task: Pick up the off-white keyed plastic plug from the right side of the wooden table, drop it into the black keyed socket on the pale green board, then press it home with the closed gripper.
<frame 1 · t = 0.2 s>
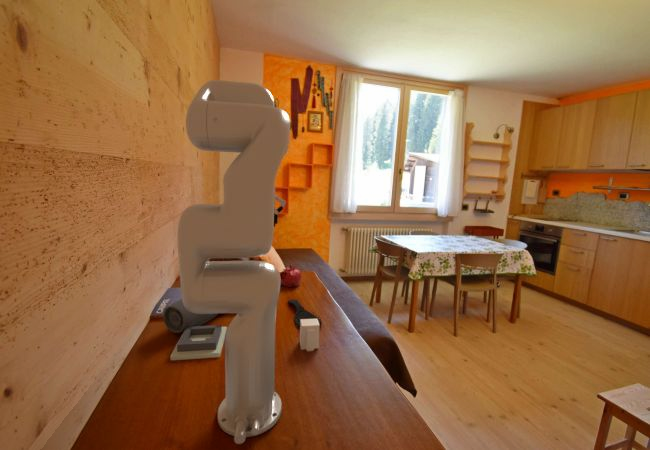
hand: (259, 225, 100), 31 cm above the table, tool pointing down, fingers open, 9 cm apart
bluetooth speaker: (205, 320, 98), on the table, touching socket board
pomegranate: (290, 284, 134), on the table
hairbrush: (301, 316, 105), on the table
socket board: (201, 343, 85), on the table
keyed plug: (309, 344, 86), on the table
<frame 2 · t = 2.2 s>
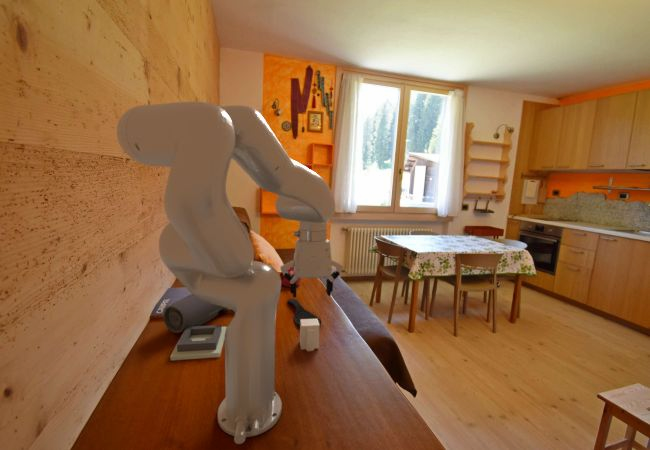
hand: (311, 294, 84), 15 cm above the table, tool pointing down, fingers open, 9 cm apart
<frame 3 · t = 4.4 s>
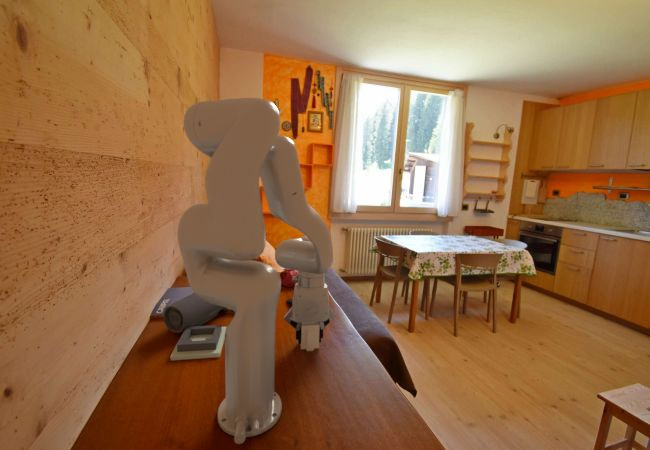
hand: (309, 340, 86), 1 cm above the table, tool pointing down, fingers closed on keyed plug, 4 cm apart
keyed plug: (309, 344, 86), on the table, touching gripper
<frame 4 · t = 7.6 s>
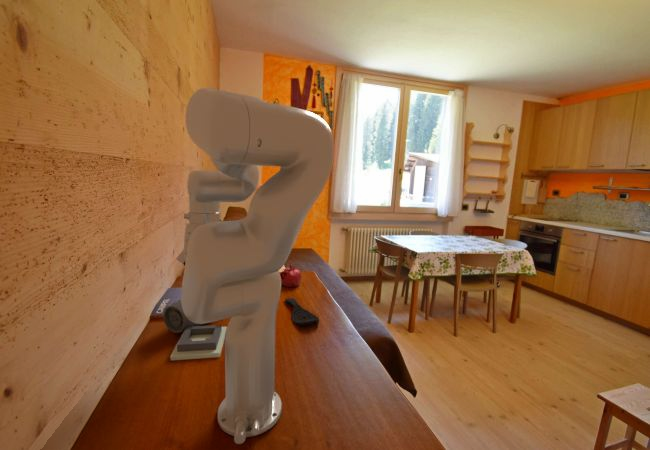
hand: (206, 283, 82), 18 cm above the table, tool pointing down, fingers closed on keyed plug, 4 cm apart
keyed plug: (207, 288, 83), point 16 cm above the table, touching gripper
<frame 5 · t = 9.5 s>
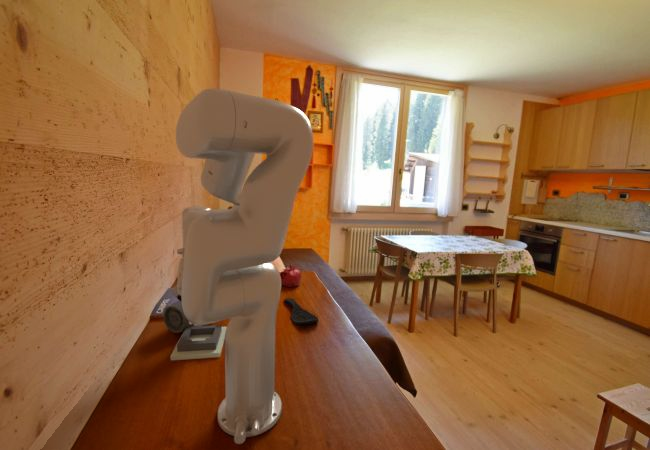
hand: (200, 315, 84), 8 cm above the table, tool pointing down, fingers closed on keyed plug, 4 cm apart
keyed plug: (200, 320, 84), point 7 cm above the table, touching gripper
when the fingers open (5 cm above the table, at t = 11.0 s): keyed plug drops 2 cm, resting on socket board.
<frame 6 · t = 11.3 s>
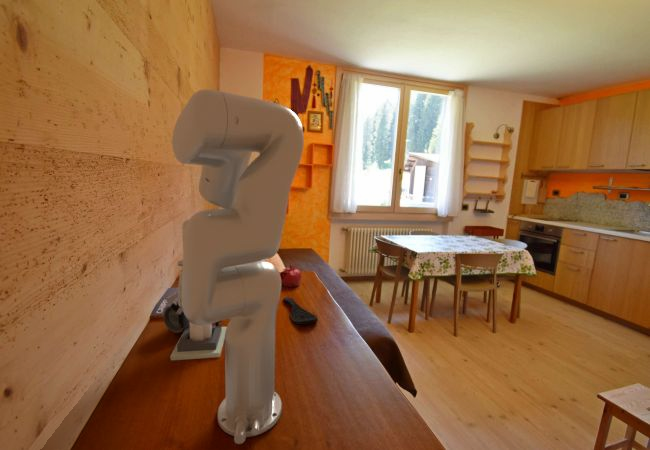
hand: (200, 324, 84), 6 cm above the table, tool pointing down, fingers open, 8 cm apart
keyed plug: (201, 339, 85), point 1 cm above the table, touching socket board
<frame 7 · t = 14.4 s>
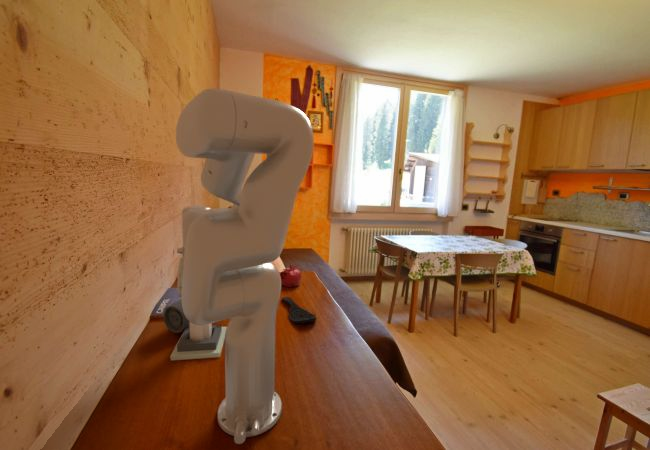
hand: (200, 316, 84), 8 cm above the table, tool pointing down, fingers closed
keyed plug: (201, 339, 85), point 1 cm above the table, touching gripper, socket board
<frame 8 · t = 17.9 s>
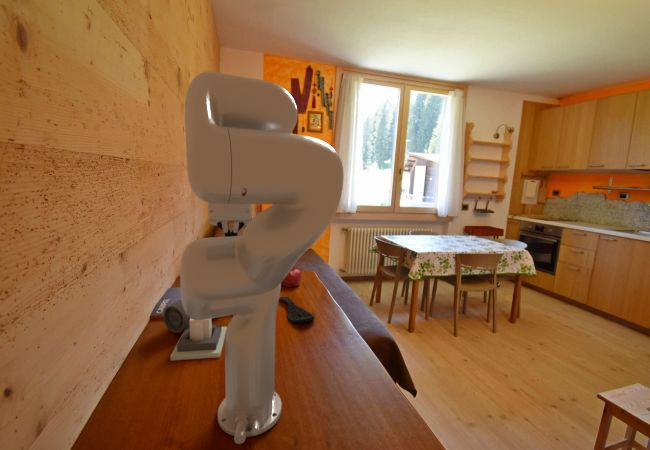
hand: (231, 247, 77), 29 cm above the table, tool pointing down, fingers closed
keyed plug: (201, 339, 85), point 1 cm above the table, touching socket board
at the end: keyed plug 0.1 cm off-centre on the socket board, point 1.2 cm above the socket board's base; keyed plug tilted 0°; the gripper is holding nothing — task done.
